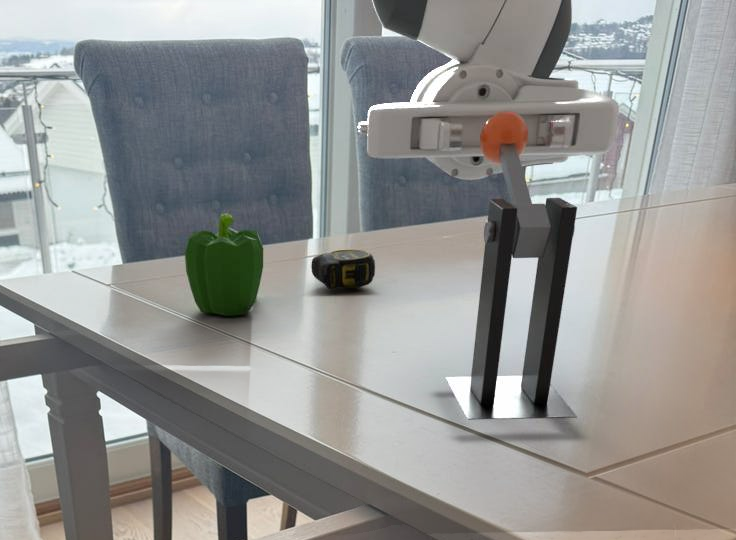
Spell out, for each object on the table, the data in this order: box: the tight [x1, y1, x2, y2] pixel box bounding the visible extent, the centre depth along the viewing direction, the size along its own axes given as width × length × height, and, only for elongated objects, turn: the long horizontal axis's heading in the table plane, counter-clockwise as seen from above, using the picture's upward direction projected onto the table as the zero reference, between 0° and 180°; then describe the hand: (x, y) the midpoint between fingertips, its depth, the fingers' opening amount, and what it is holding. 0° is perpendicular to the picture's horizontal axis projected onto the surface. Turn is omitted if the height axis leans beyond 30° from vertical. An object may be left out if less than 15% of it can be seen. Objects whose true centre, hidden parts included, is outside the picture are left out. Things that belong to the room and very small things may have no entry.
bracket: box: [445, 197, 578, 420], centre depth 68 cm, size 10×8×15 cm
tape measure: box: [311, 249, 376, 290], centre depth 108 cm, size 7×7×4 cm
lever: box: [480, 111, 552, 259], centre depth 69 cm, size 15×4×4 cm, turn 179°
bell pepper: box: [184, 213, 264, 317], centre depth 98 cm, size 8×8×10 cm
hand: (507, 136), depth 71 cm, fingers open, 7 cm apart
